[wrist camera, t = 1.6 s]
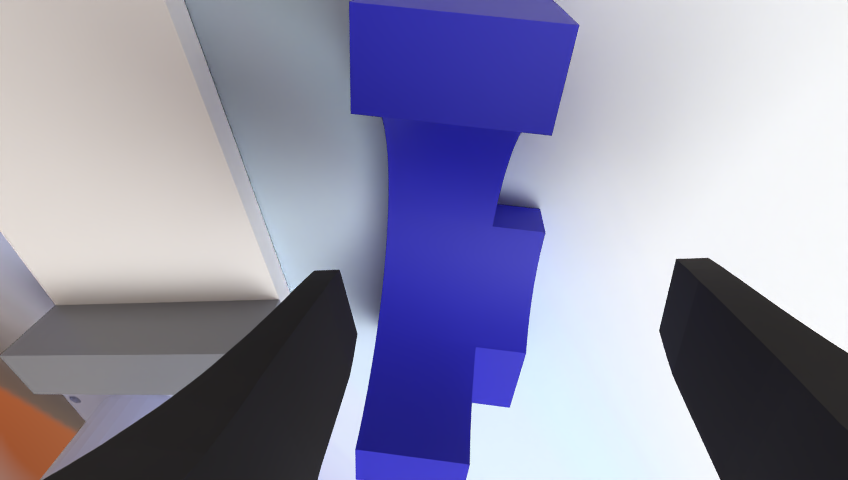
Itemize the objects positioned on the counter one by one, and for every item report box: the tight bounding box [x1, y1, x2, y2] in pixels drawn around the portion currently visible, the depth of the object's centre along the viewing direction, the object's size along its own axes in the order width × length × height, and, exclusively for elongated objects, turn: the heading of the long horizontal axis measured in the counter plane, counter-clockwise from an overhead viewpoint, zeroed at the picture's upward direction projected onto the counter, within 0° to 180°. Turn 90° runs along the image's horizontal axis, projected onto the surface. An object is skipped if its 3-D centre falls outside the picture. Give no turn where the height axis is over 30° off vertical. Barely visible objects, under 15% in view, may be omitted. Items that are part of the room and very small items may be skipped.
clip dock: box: [0, 0, 290, 395], centre depth 12 cm, size 18×9×3 cm, turn 7°
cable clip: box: [349, 0, 579, 480], centre depth 12 cm, size 12×4×6 cm, turn 176°
